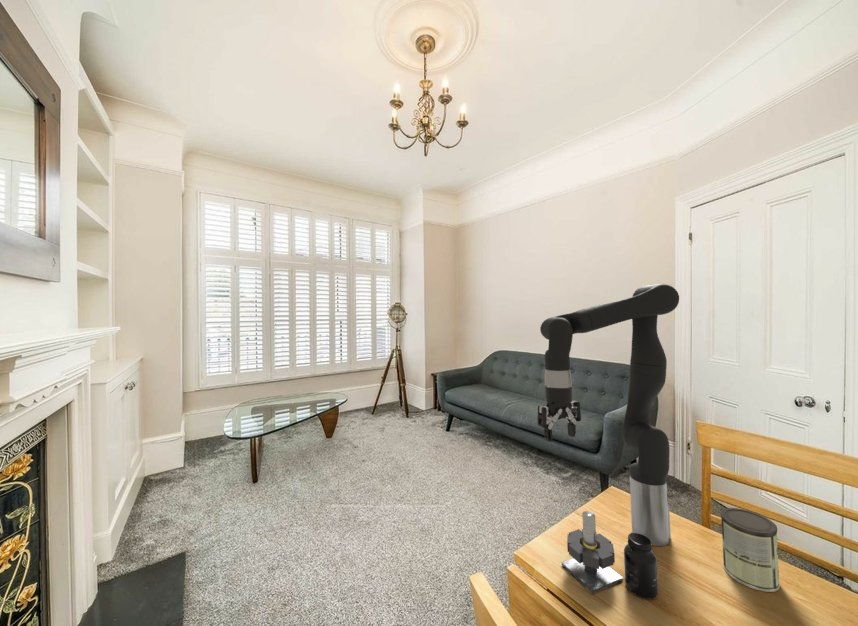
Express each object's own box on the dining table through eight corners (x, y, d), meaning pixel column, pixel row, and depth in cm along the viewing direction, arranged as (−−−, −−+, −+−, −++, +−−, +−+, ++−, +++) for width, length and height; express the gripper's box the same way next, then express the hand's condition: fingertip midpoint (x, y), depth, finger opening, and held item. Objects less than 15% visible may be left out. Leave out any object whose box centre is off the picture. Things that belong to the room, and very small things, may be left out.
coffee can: (715, 557, 90) (712, 504, 90) (763, 565, 86) (761, 510, 86) (736, 587, 80) (733, 528, 80) (791, 597, 77) (788, 536, 77)
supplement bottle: (664, 602, 76) (661, 550, 77) (631, 598, 78) (629, 547, 78) (650, 579, 83) (648, 531, 83) (620, 575, 85) (618, 528, 85)
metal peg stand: (590, 554, 92) (587, 500, 93) (622, 580, 83) (619, 520, 83) (561, 565, 89) (559, 509, 89) (592, 594, 79) (589, 531, 80)
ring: (589, 534, 93) (588, 525, 93) (624, 560, 83) (623, 550, 83) (558, 545, 89) (558, 536, 89) (591, 573, 79) (591, 563, 79)
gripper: (567, 379, 105) (569, 430, 105) (530, 384, 100) (532, 438, 100) (586, 383, 98) (588, 438, 98) (547, 389, 93) (550, 447, 93)
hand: (560, 438), depth 99 cm, fingers open, 8 cm apart
